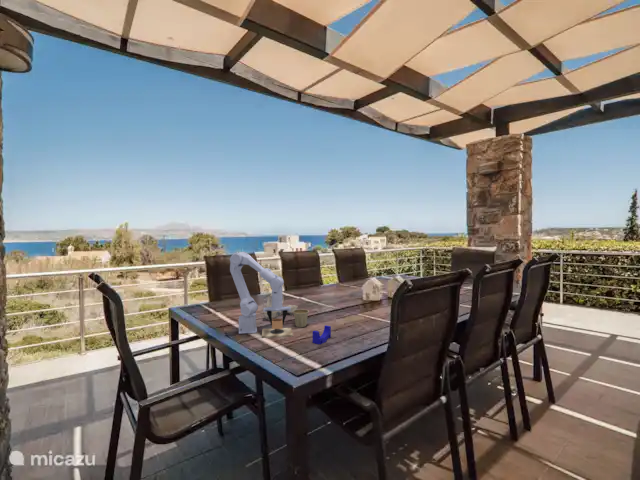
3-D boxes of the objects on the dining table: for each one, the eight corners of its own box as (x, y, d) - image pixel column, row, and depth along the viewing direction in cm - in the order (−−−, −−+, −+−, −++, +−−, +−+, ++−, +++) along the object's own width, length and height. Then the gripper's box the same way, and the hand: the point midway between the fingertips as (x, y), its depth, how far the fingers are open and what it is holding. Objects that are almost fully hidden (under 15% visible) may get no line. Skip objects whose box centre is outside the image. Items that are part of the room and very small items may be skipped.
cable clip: (319, 345, 162) (319, 333, 161) (312, 343, 164) (312, 331, 164) (333, 338, 171) (333, 326, 171) (326, 336, 174) (326, 325, 174)
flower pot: (294, 328, 186) (294, 313, 185) (291, 324, 195) (291, 309, 195) (310, 327, 188) (310, 312, 188) (306, 323, 197) (306, 308, 197)
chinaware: (270, 325, 197) (272, 298, 196) (252, 318, 207) (253, 292, 206) (301, 315, 219) (303, 291, 218) (283, 309, 230) (285, 286, 228)
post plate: (261, 338, 171) (261, 327, 170) (262, 330, 182) (262, 320, 182) (292, 336, 173) (292, 326, 173) (291, 329, 185) (291, 319, 185)
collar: (271, 329, 174) (271, 321, 174) (271, 325, 180) (271, 318, 180) (282, 328, 175) (282, 321, 175) (282, 325, 181) (282, 318, 180)
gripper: (263, 301, 172) (263, 327, 172) (291, 300, 174) (291, 326, 175) (263, 298, 179) (263, 323, 179) (290, 297, 181) (290, 322, 182)
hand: (277, 324), depth 177 cm, fingers closed on collar, 6 cm apart
